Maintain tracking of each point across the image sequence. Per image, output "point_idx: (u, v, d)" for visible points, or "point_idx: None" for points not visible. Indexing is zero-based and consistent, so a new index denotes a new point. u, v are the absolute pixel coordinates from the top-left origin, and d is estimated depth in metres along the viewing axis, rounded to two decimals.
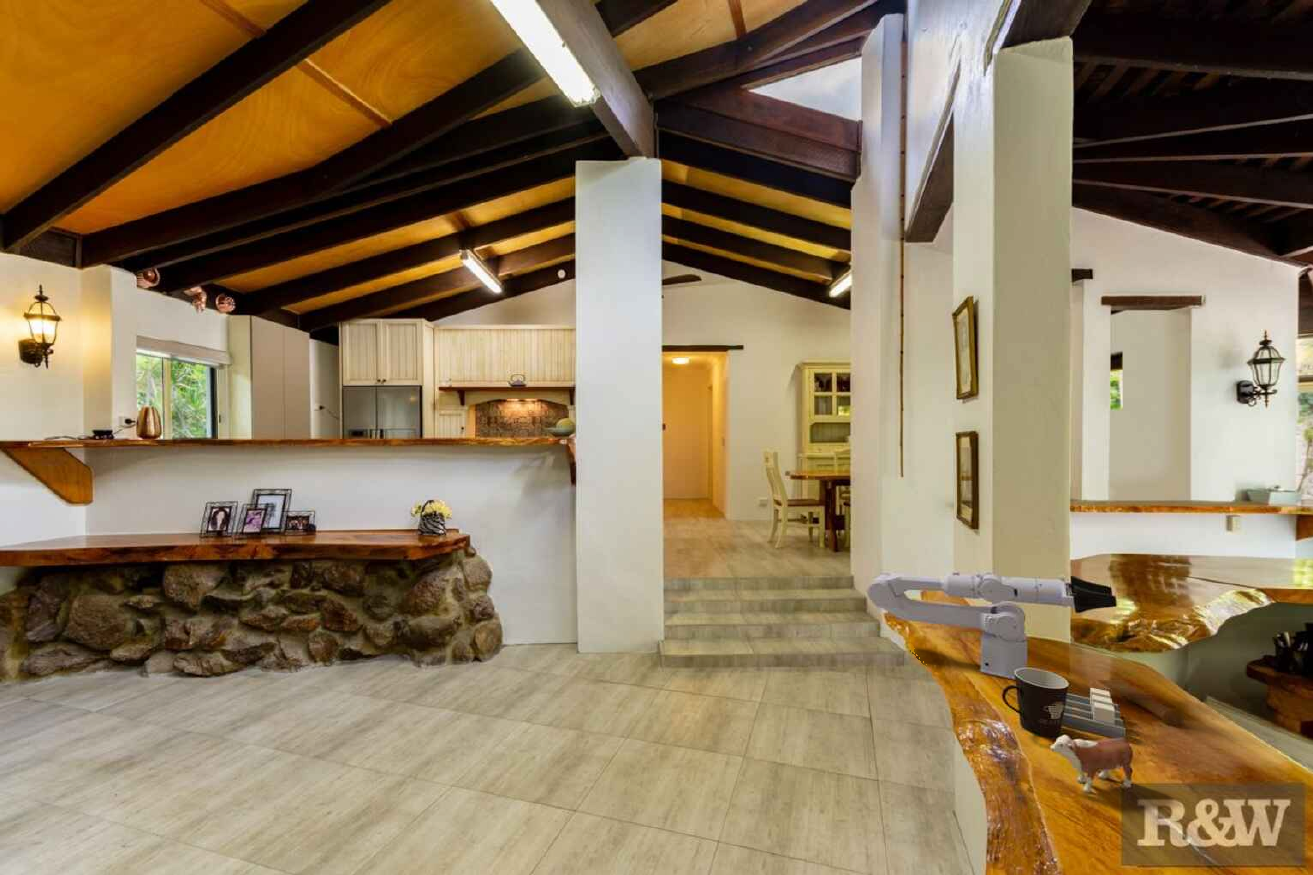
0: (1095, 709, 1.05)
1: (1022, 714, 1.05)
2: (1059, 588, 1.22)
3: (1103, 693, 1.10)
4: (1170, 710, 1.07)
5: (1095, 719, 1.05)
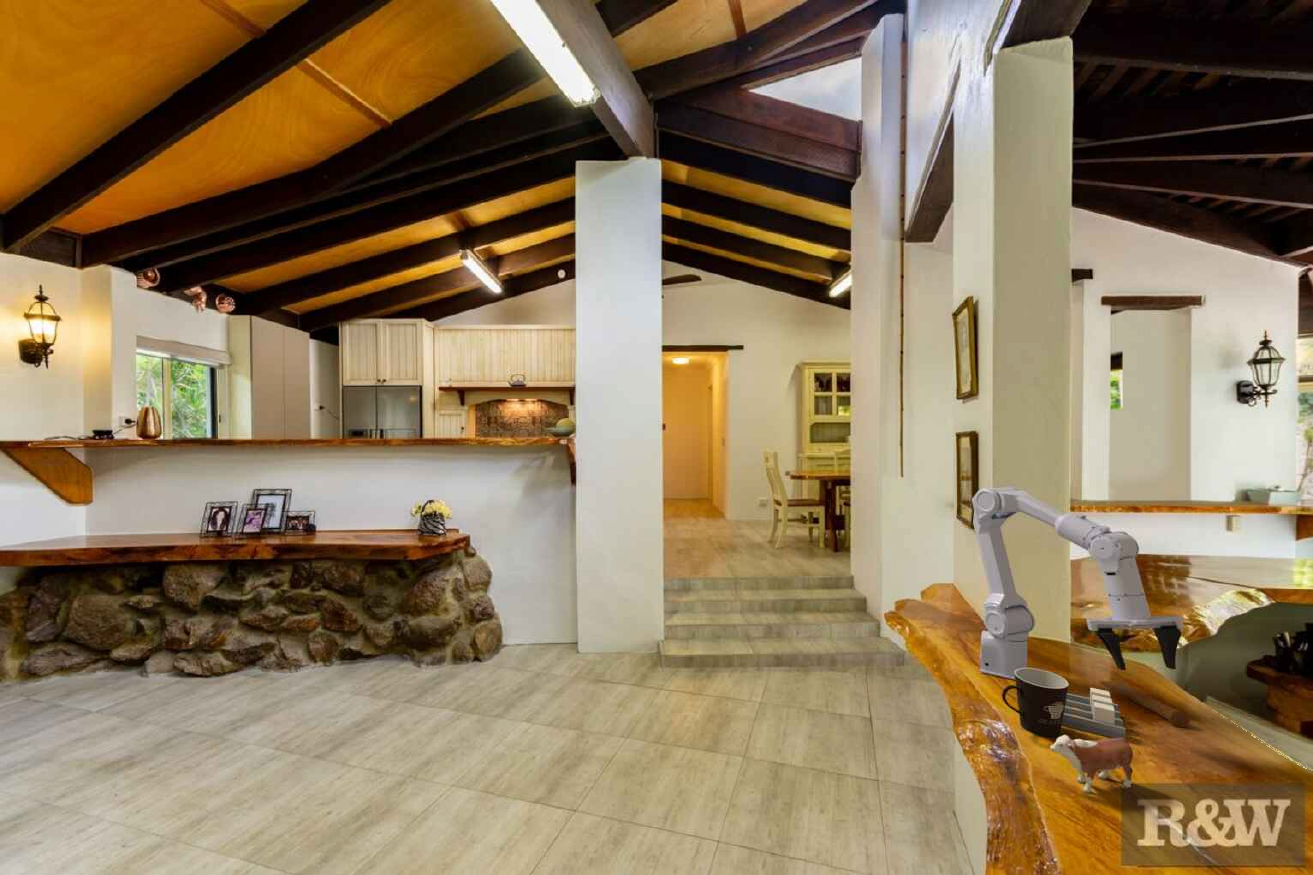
0: (1095, 709, 1.05)
1: (1022, 714, 1.05)
2: (1120, 618, 1.05)
3: (1103, 693, 1.10)
4: (1177, 711, 1.07)
5: (1095, 719, 1.05)
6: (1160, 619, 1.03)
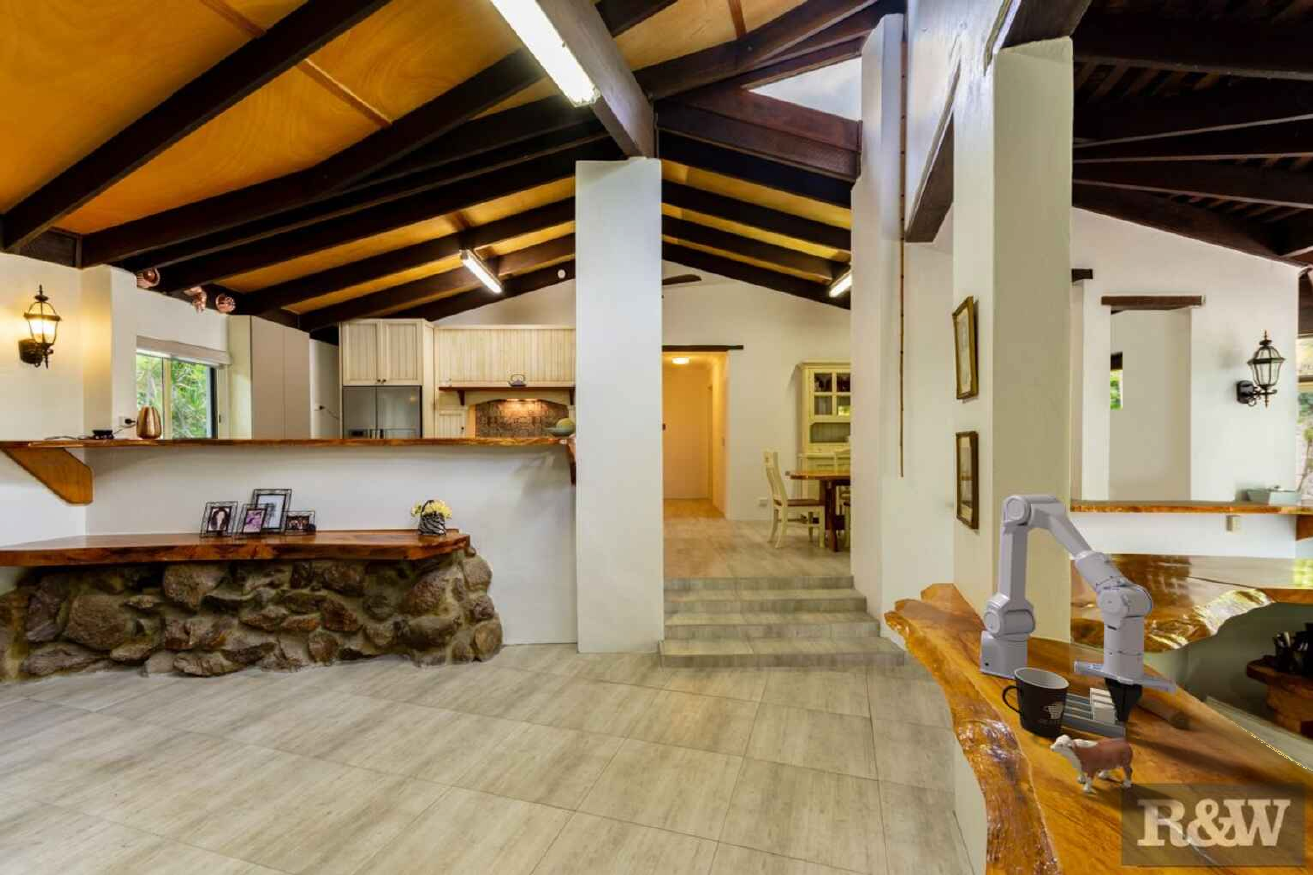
0: (1095, 709, 1.05)
1: (1022, 714, 1.05)
2: (1107, 670, 1.03)
3: (1103, 693, 1.10)
4: (1177, 712, 1.06)
5: (1095, 719, 1.05)
6: (1150, 682, 1.00)
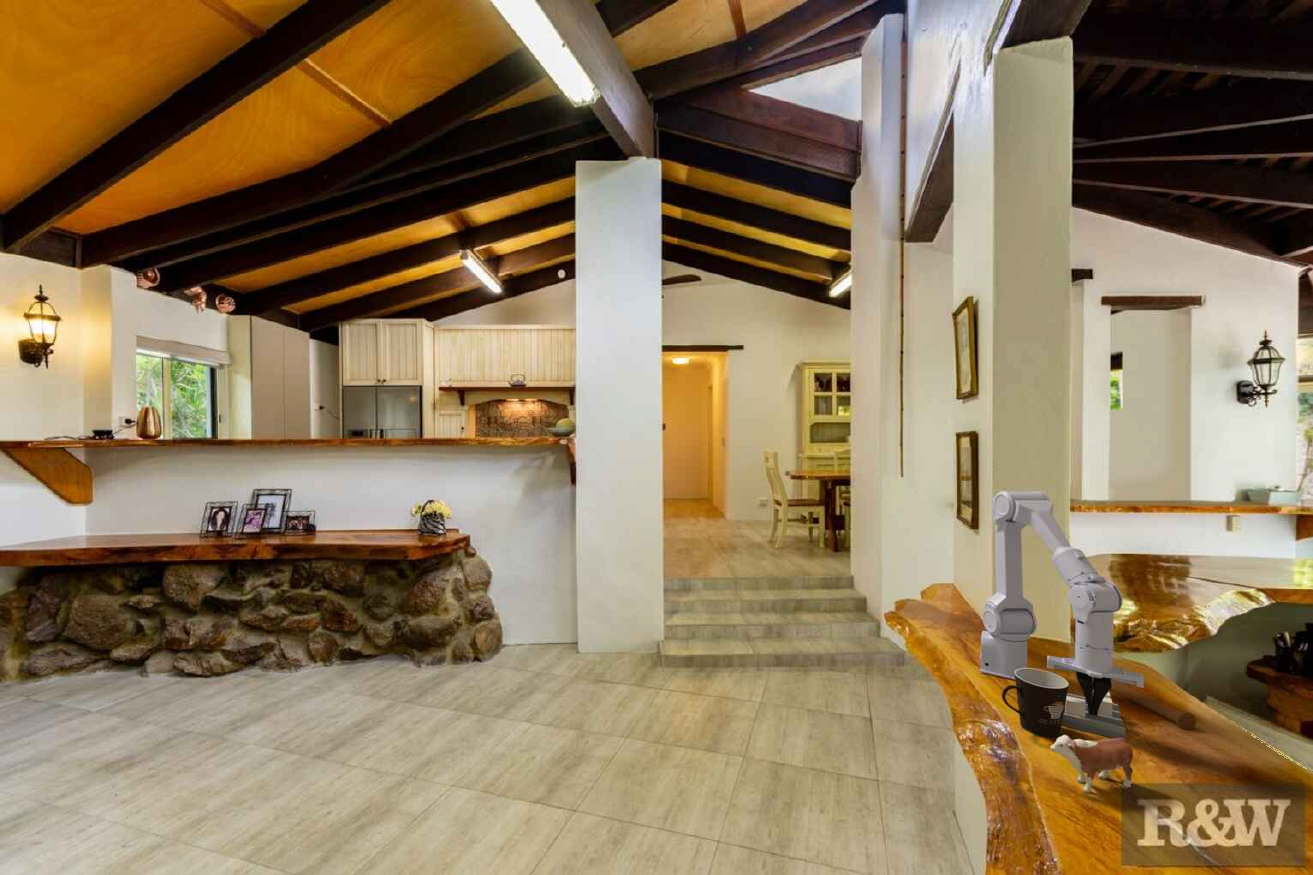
0: (1067, 702, 1.07)
1: (1022, 714, 1.05)
2: (1078, 664, 1.06)
3: None
4: (1185, 713, 1.06)
5: (1067, 712, 1.07)
6: (1119, 675, 1.02)
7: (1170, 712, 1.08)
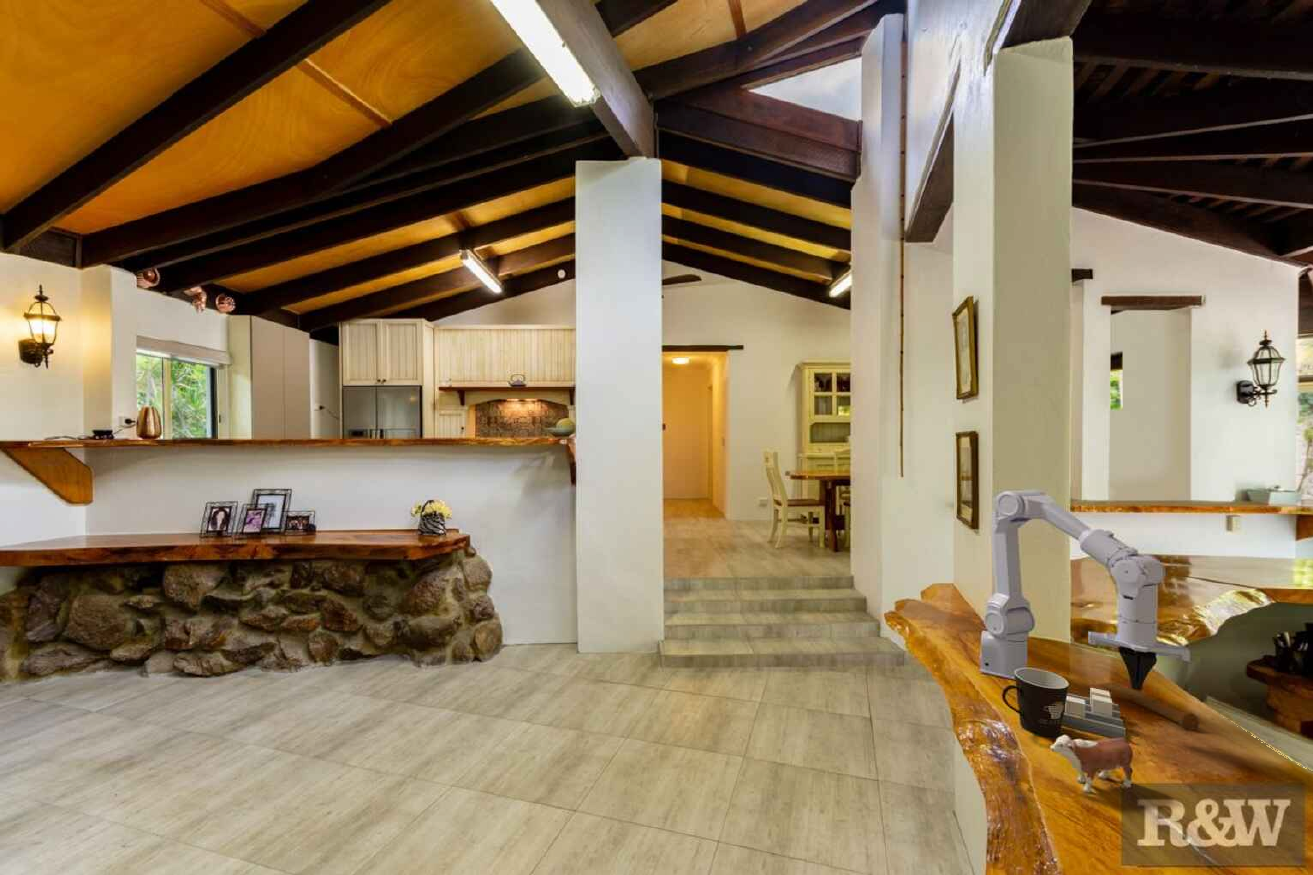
0: (1067, 702, 1.07)
1: (1022, 714, 1.05)
2: (1121, 639, 1.05)
3: (1103, 693, 1.10)
4: (1188, 714, 1.06)
5: (1067, 712, 1.07)
6: (1164, 649, 1.01)
7: (1173, 713, 1.08)
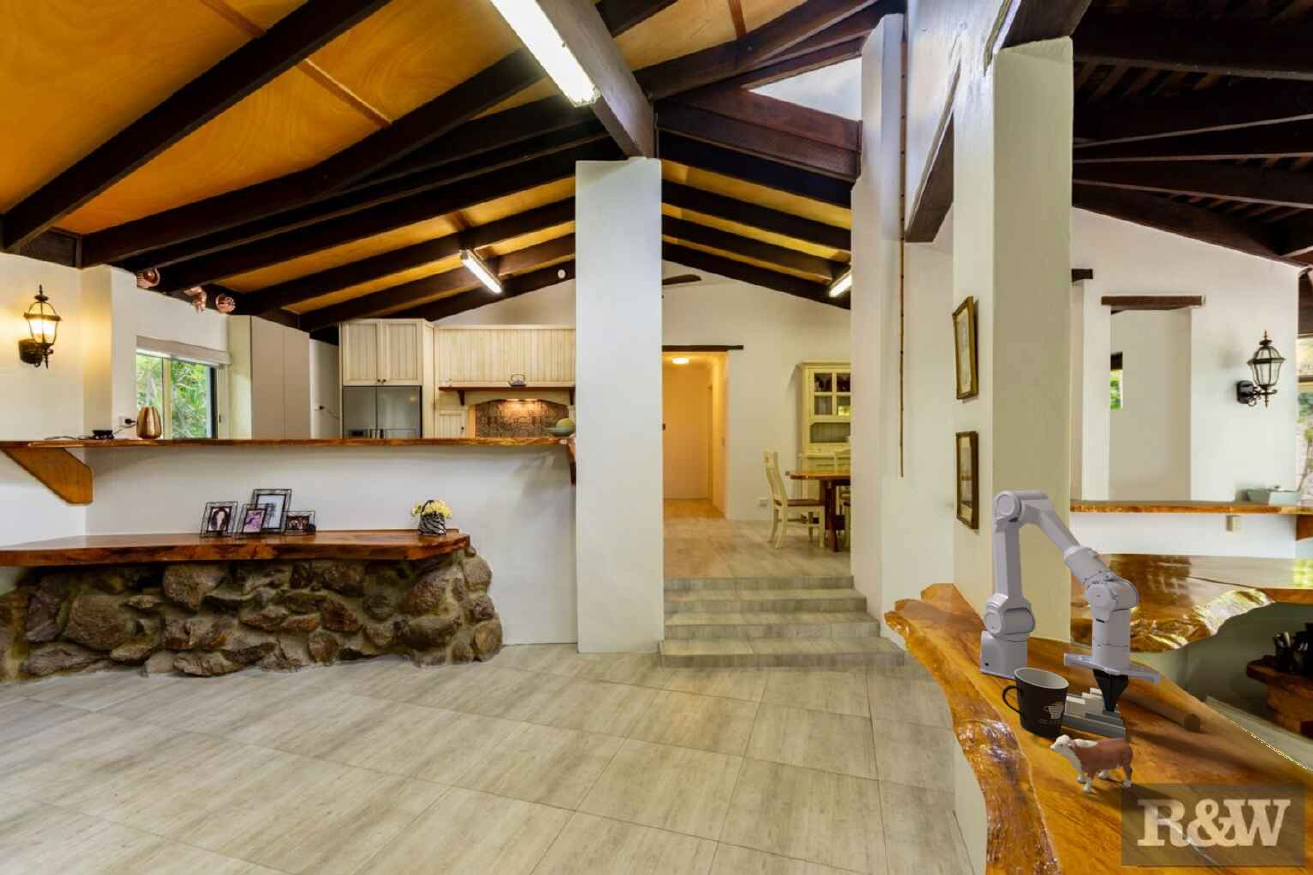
0: (1067, 702, 1.07)
1: (1022, 714, 1.05)
2: (1095, 661, 1.07)
3: None
4: (1190, 715, 1.05)
5: (1067, 712, 1.07)
6: (1136, 672, 1.03)
7: (1174, 714, 1.08)
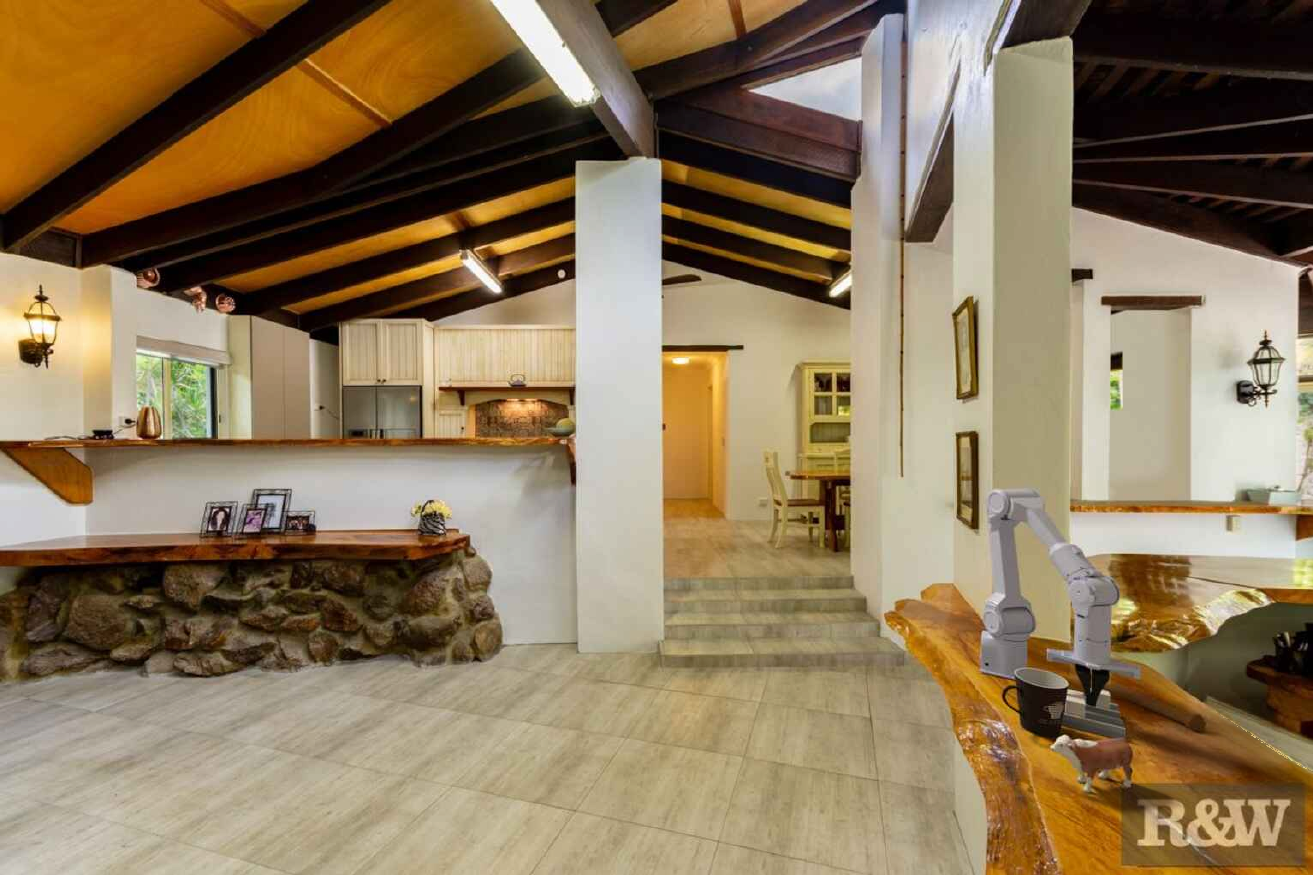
0: (1067, 702, 1.07)
1: (1022, 714, 1.05)
2: (1077, 656, 1.09)
3: (1103, 693, 1.10)
4: (1195, 716, 1.05)
5: (1067, 712, 1.07)
6: (1116, 667, 1.05)
7: (1179, 715, 1.08)
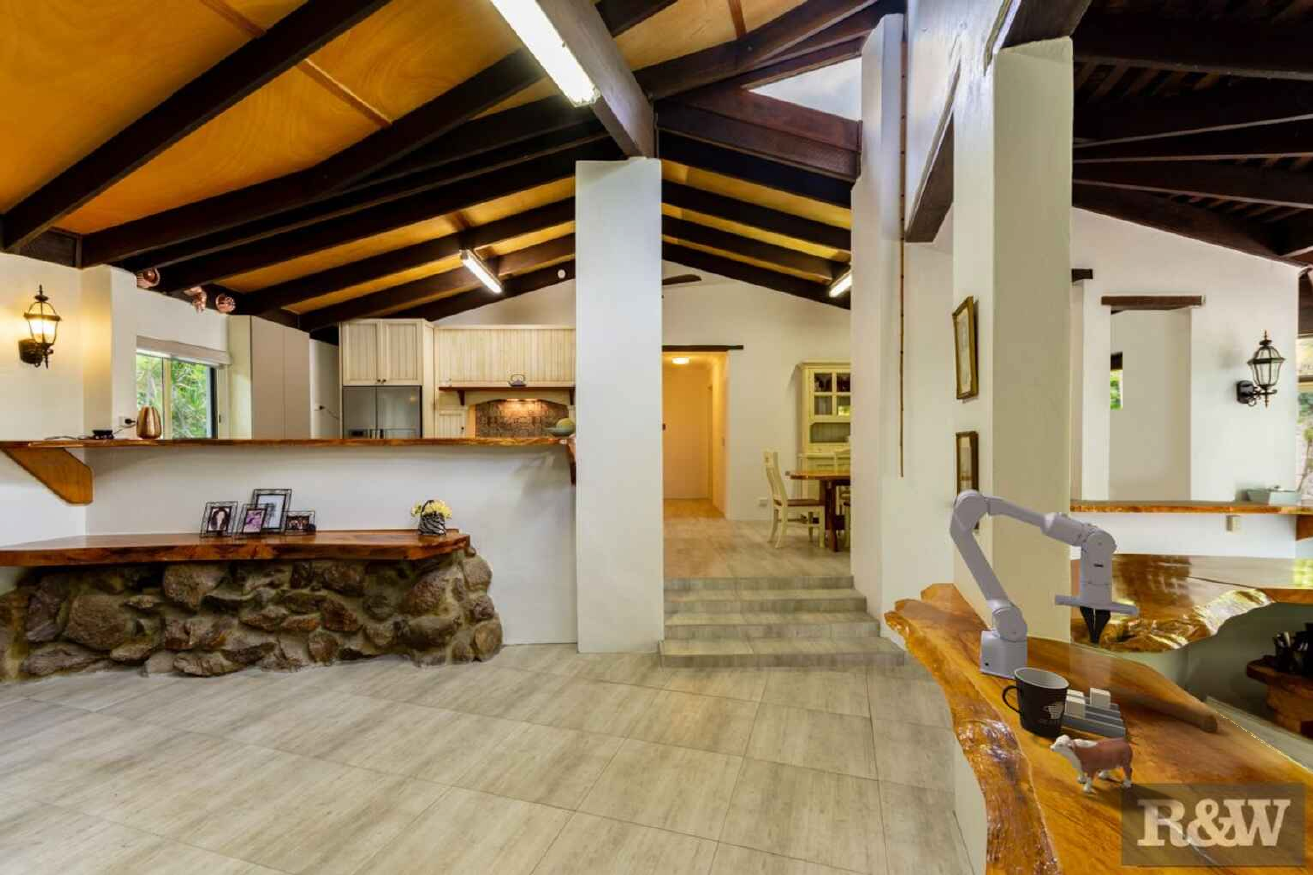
0: (1067, 702, 1.07)
1: (1022, 714, 1.05)
2: (1082, 599, 1.22)
3: (1103, 693, 1.10)
4: (1209, 717, 1.05)
5: (1067, 712, 1.07)
6: (1117, 607, 1.18)
7: (1191, 716, 1.07)
